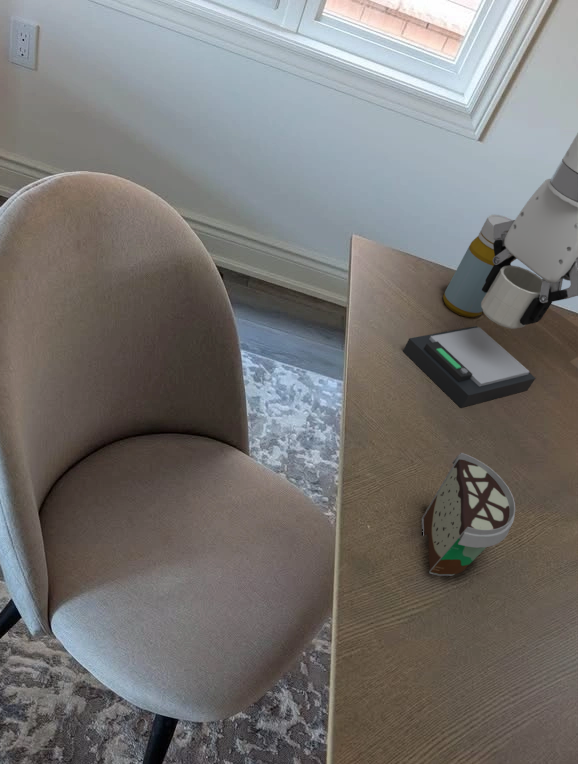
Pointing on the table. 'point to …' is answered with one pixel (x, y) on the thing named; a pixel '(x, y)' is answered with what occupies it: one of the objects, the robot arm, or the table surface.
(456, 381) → the scale
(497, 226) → the robot arm
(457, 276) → the bottle
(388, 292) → the table surface
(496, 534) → the food container
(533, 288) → the cup
